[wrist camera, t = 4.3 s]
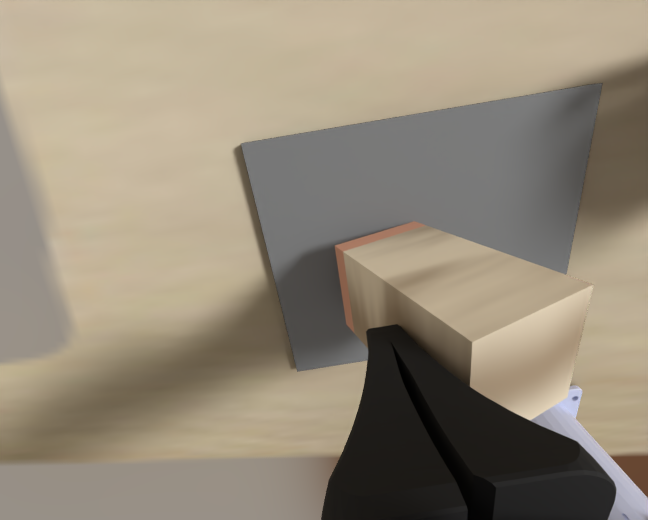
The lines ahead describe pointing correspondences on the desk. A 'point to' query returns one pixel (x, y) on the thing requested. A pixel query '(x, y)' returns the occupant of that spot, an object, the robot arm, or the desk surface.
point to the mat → (417, 196)
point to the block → (469, 311)
